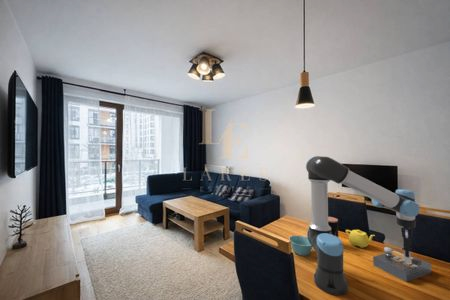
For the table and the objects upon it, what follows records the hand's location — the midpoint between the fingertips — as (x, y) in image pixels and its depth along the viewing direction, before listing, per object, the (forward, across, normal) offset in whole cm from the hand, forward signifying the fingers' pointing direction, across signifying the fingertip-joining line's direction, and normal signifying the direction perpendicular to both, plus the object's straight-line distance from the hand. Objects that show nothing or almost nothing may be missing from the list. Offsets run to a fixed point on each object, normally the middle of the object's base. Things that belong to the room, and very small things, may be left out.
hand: (407, 261), depth 105 cm
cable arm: (0, +5, +2) cm, 5 cm away
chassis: (+7, +5, +2) cm, 9 cm away
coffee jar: (+7, +14, +41) cm, 44 cm away
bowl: (+7, -13, +52) cm, 55 cm away
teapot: (+7, +24, +24) cm, 35 cm away
